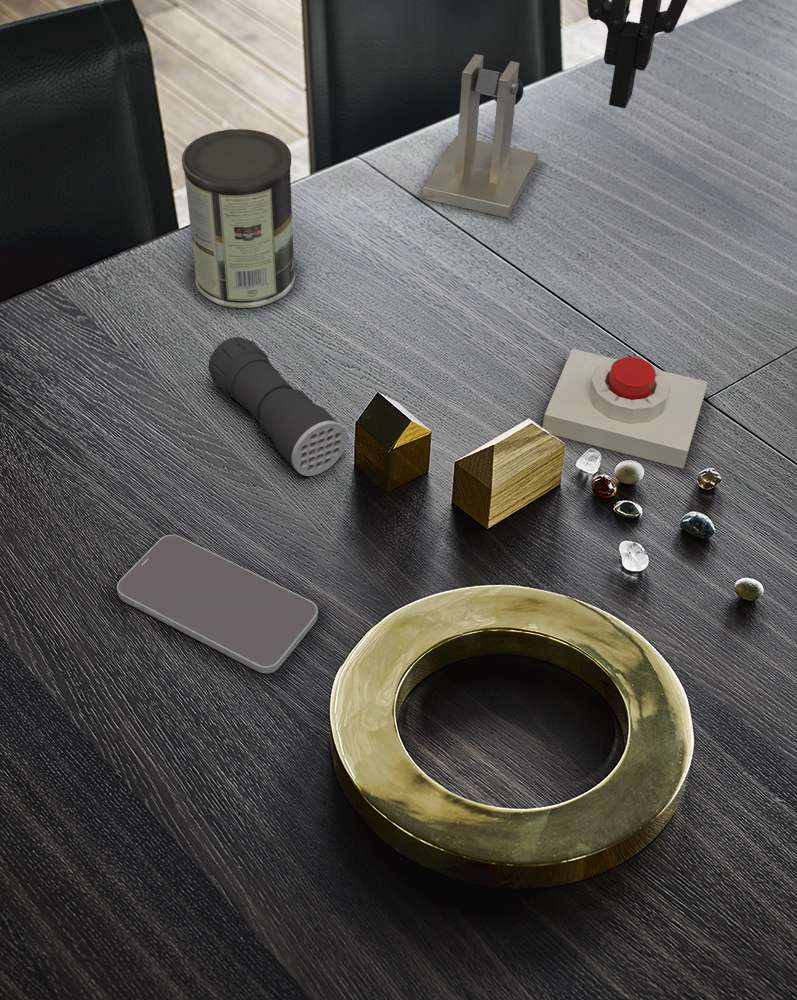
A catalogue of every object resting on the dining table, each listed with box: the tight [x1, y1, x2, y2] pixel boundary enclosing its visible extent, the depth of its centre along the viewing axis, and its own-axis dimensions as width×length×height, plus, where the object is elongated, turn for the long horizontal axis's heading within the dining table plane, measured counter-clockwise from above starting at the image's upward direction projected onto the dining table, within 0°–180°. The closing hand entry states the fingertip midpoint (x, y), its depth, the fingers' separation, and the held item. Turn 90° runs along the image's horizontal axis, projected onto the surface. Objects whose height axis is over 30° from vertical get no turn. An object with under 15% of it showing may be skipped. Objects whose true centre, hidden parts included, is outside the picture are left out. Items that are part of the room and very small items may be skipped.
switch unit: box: [422, 53, 539, 219], centre depth 138 cm, size 12×10×14 cm
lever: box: [475, 68, 525, 106], centre depth 139 cm, size 13×4×4 cm, turn 161°
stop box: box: [542, 348, 709, 470], centre depth 114 cm, size 13×10×4 cm
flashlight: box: [208, 336, 348, 477], centre depth 111 cm, size 15×5×5 cm, turn 36°
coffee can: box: [181, 128, 296, 309], centre depth 123 cm, size 10×10×14 cm
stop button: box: [608, 356, 656, 400], centre depth 112 cm, size 4×4×2 cm
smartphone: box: [116, 534, 319, 674], centre depth 98 cm, size 7×1×15 cm
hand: (620, 99), depth 111 cm, fingers closed
